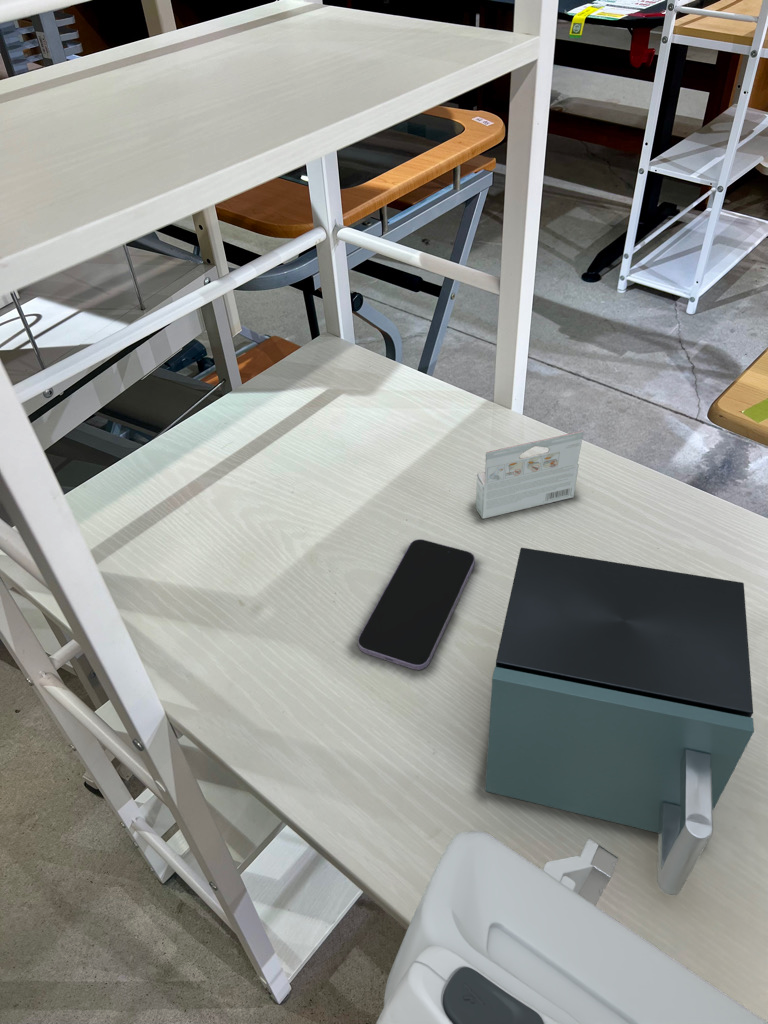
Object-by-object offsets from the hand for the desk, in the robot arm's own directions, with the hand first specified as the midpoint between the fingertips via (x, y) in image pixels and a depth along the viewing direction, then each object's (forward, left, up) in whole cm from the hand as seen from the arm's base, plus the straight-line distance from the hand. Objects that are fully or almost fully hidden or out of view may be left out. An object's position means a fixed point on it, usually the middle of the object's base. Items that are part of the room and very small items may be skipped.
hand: (699, 924), depth 32 cm
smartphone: (+21, -32, -22) cm, 45 cm away
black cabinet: (+3, -21, -22) cm, 31 cm away
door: (+3, -12, -22) cm, 26 cm away
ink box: (+13, -49, -22) cm, 56 cm away
